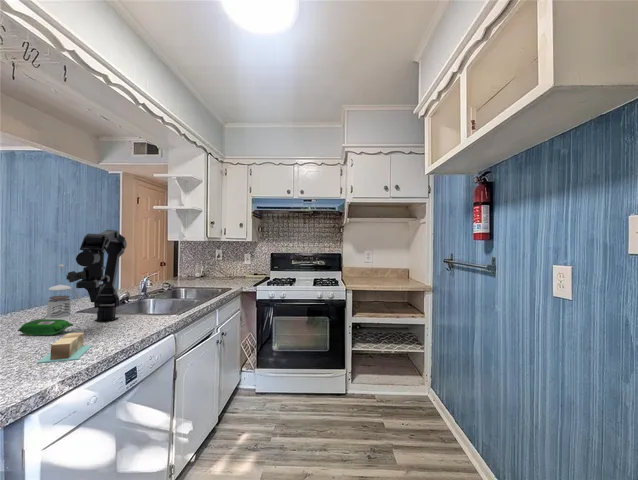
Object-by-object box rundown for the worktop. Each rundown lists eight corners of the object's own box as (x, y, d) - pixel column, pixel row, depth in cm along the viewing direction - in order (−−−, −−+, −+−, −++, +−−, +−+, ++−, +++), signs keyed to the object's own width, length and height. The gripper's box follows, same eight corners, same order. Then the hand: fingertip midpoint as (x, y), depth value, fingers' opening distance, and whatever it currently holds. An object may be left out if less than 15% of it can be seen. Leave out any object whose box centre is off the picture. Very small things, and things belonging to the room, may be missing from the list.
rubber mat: (56, 349, 97) (56, 347, 97) (91, 346, 101) (91, 345, 101) (37, 363, 86) (37, 362, 86) (78, 359, 90) (78, 358, 90)
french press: (40, 317, 131) (43, 263, 131) (72, 313, 141) (75, 263, 141) (48, 321, 125) (51, 265, 126) (80, 316, 135) (83, 264, 136)
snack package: (60, 337, 109) (61, 323, 109) (15, 336, 107) (16, 322, 107) (74, 331, 116) (75, 318, 116) (32, 330, 114) (33, 317, 114)
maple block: (68, 333, 99) (51, 345, 88) (84, 332, 101) (69, 344, 89) (67, 346, 99) (50, 359, 88) (83, 345, 101) (68, 358, 89)
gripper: (79, 262, 122) (77, 298, 121) (59, 266, 104) (57, 308, 104) (111, 262, 126) (109, 297, 126) (96, 266, 109) (94, 307, 108)
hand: (93, 302), depth 116 cm, fingers closed
